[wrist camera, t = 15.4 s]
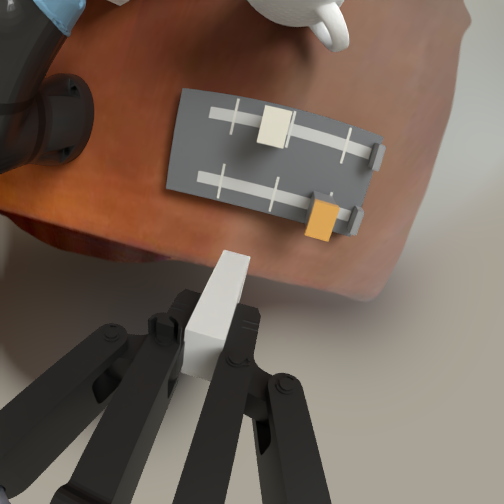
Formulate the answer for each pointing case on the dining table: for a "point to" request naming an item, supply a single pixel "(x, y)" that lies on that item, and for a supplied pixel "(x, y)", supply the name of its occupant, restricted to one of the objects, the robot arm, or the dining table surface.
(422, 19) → the dining table surface
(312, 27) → the mug
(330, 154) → the console
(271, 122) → the fader cream
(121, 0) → the tissue box
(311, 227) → the fader orange
